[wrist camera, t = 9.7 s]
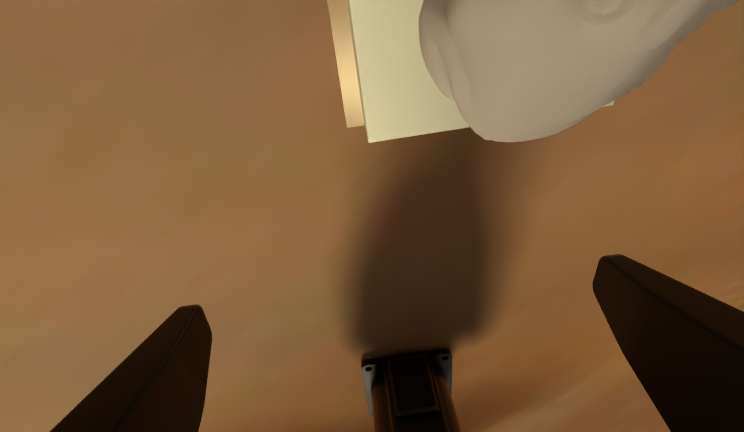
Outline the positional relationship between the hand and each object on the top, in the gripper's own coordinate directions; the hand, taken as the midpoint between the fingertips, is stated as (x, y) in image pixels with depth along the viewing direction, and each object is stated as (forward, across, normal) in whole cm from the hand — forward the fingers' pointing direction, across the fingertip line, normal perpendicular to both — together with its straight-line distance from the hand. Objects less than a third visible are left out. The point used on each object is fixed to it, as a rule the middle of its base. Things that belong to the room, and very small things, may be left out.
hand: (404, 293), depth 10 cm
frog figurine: (+7, -4, -5) cm, 10 cm away
